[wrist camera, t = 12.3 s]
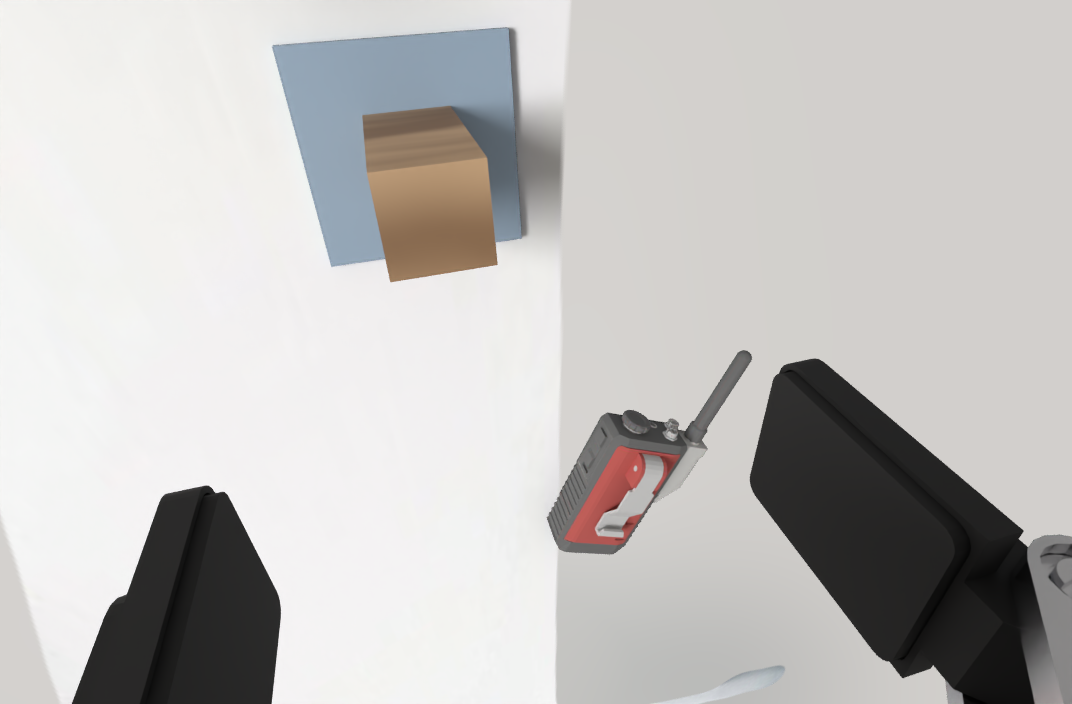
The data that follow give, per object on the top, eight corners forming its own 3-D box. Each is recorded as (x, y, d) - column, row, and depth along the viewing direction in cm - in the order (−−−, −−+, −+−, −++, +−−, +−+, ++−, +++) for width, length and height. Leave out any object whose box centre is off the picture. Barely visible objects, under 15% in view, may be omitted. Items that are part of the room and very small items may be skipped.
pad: (272, 45, 24) (271, 46, 24) (506, 27, 26) (508, 28, 26) (331, 263, 30) (331, 266, 29) (519, 235, 32) (521, 238, 31)
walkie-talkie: (625, 536, 50) (748, 344, 41) (646, 579, 46) (786, 380, 38) (534, 529, 46) (648, 318, 38) (549, 576, 43) (679, 355, 34)
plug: (362, 115, 26) (366, 173, 19) (450, 105, 27) (486, 157, 20) (380, 201, 28) (390, 282, 21) (460, 190, 29) (497, 264, 22)
